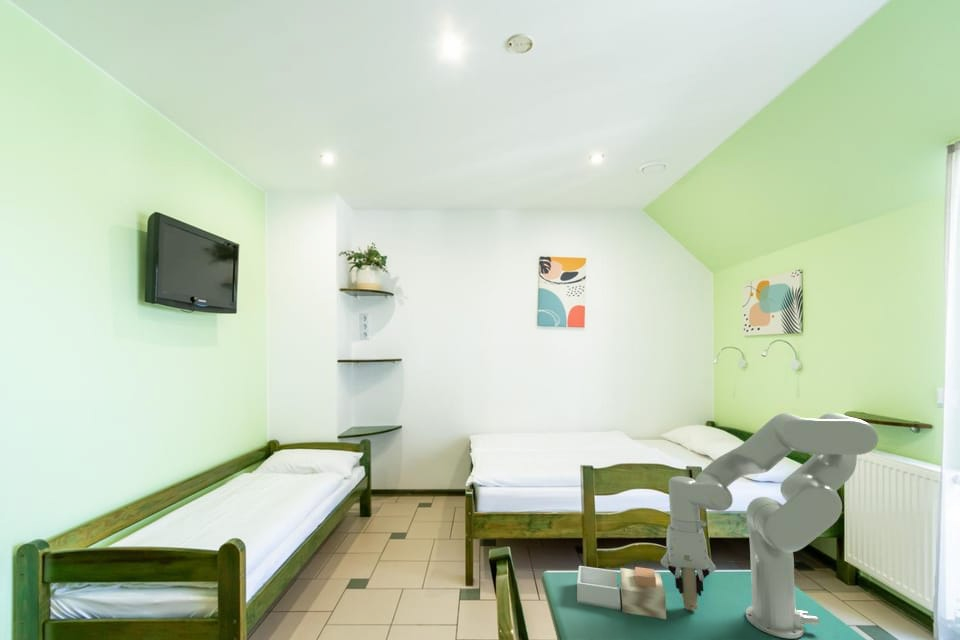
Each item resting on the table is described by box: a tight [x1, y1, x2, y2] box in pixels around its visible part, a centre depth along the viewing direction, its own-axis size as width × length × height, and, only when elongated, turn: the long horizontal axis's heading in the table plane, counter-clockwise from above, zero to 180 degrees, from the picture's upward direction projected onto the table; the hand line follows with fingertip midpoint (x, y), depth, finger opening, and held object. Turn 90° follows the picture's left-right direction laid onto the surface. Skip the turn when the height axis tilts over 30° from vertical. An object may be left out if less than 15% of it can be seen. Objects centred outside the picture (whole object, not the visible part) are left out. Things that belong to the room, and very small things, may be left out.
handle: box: [680, 555, 698, 612], centre depth 119 cm, size 5×6×15 cm
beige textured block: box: [619, 567, 667, 620], centre depth 122 cm, size 11×12×6 cm
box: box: [576, 565, 621, 611], centre depth 125 cm, size 12×10×5 cm
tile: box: [634, 566, 656, 588], centre depth 122 cm, size 5×5×2 cm
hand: (689, 591), depth 119 cm, fingers closed on handle, 4 cm apart
